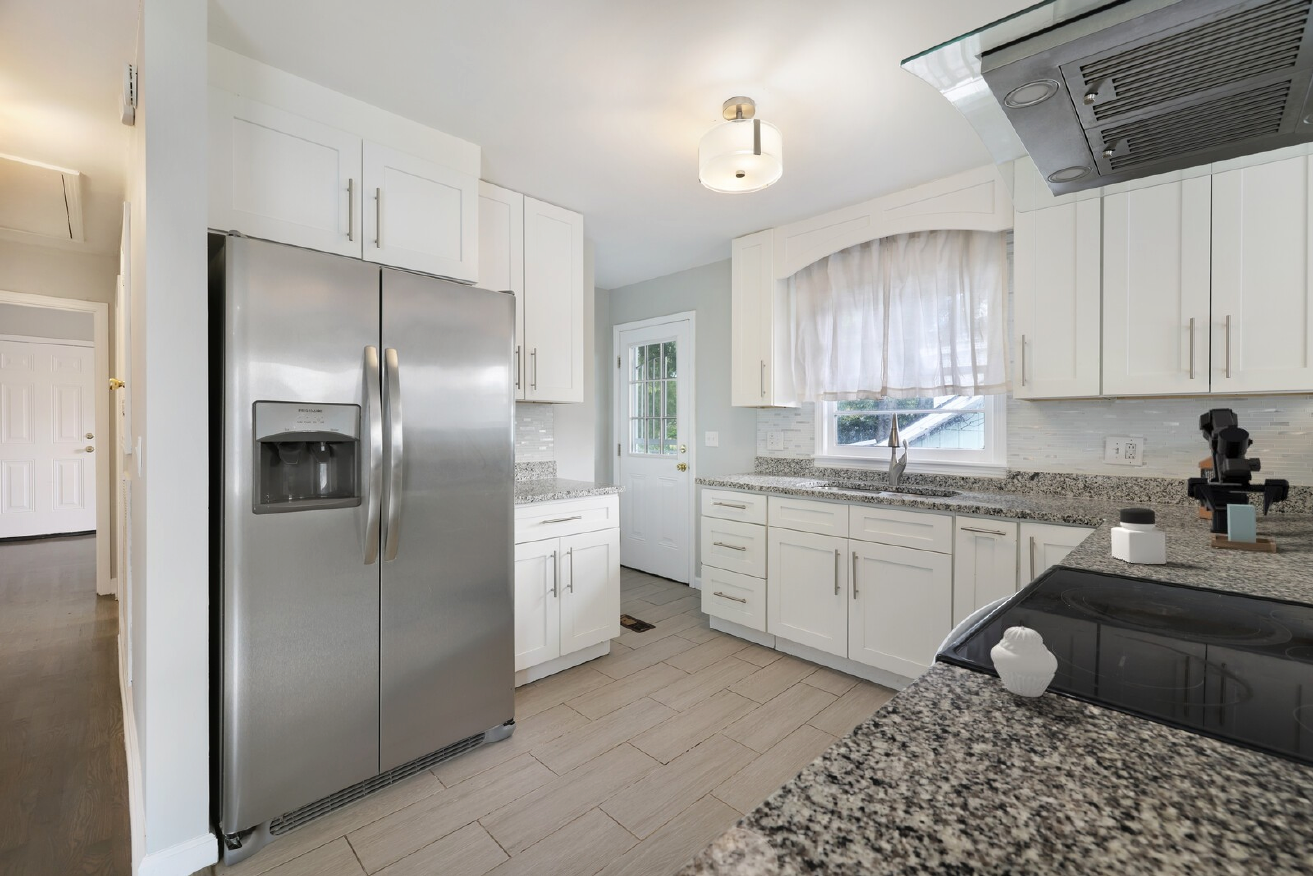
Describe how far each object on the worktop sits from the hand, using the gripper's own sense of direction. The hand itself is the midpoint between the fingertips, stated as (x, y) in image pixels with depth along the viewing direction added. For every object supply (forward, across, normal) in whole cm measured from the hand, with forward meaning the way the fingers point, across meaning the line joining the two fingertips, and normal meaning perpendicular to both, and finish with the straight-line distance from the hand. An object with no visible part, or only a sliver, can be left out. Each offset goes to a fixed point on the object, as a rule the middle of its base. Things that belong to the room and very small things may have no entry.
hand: (1239, 513), depth 148 cm
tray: (+7, 0, +4) cm, 9 cm away
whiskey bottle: (-42, +4, +55) cm, 69 cm away
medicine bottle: (+34, -21, -22) cm, 45 cm away
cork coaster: (-4, 0, +16) cm, 16 cm away
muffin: (+100, -32, -91) cm, 139 cm away
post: (+7, 0, +4) cm, 8 cm away
